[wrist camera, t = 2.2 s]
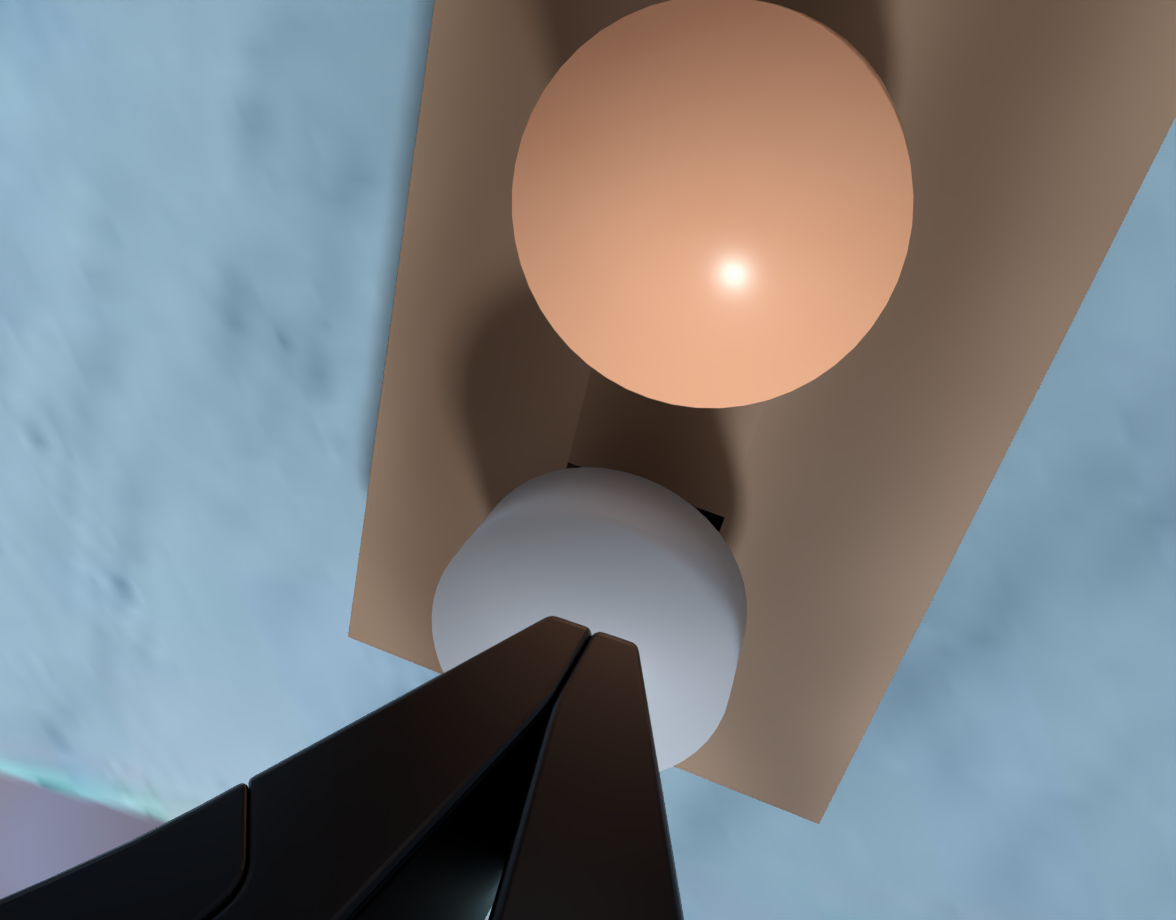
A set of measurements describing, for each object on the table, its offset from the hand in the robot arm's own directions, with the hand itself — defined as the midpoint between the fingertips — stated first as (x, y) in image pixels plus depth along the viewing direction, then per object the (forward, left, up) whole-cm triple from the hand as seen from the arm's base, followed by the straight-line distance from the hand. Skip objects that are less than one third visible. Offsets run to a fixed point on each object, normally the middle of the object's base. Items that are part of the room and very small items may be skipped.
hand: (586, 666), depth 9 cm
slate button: (+1, +5, -11) cm, 13 cm away
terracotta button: (+1, -3, -11) cm, 12 cm away
